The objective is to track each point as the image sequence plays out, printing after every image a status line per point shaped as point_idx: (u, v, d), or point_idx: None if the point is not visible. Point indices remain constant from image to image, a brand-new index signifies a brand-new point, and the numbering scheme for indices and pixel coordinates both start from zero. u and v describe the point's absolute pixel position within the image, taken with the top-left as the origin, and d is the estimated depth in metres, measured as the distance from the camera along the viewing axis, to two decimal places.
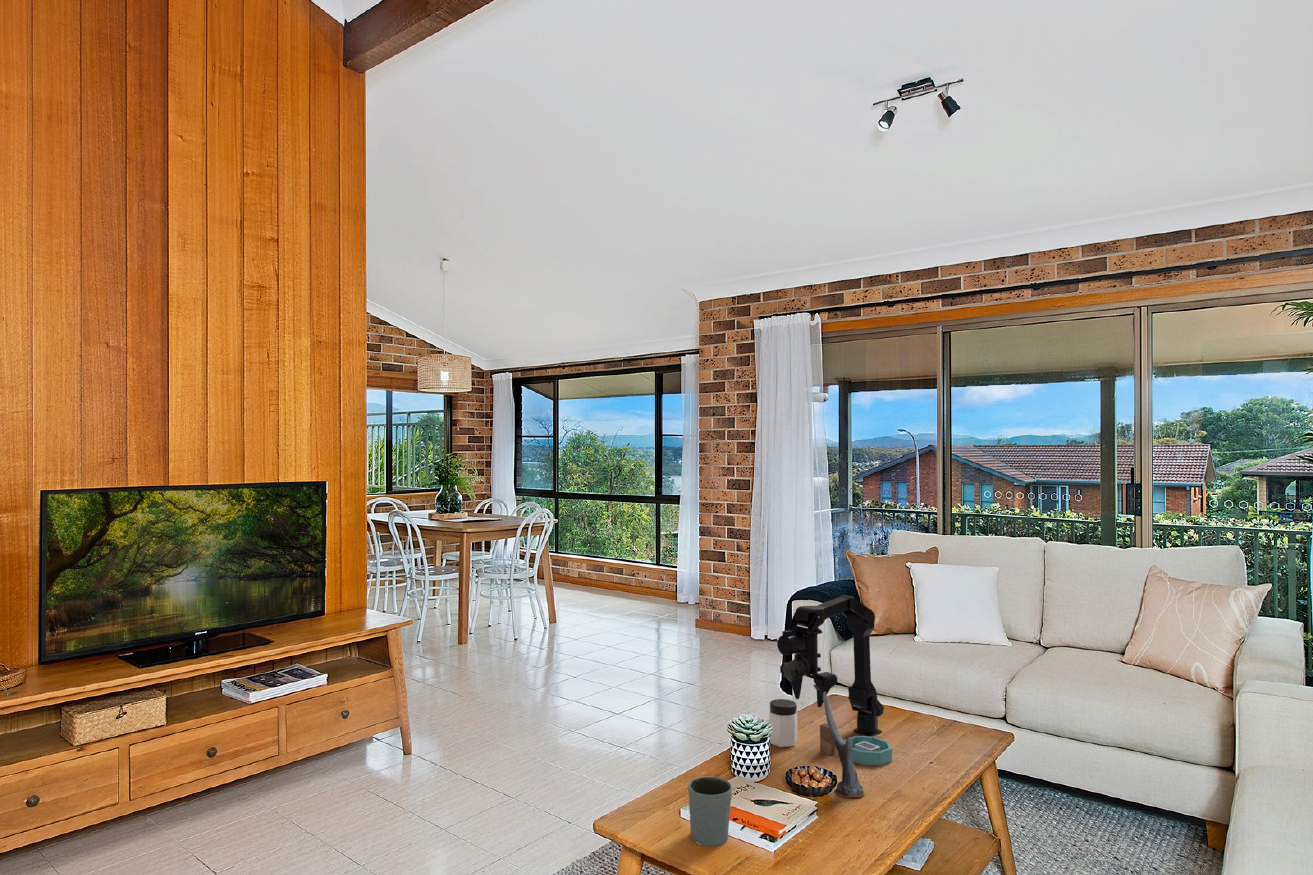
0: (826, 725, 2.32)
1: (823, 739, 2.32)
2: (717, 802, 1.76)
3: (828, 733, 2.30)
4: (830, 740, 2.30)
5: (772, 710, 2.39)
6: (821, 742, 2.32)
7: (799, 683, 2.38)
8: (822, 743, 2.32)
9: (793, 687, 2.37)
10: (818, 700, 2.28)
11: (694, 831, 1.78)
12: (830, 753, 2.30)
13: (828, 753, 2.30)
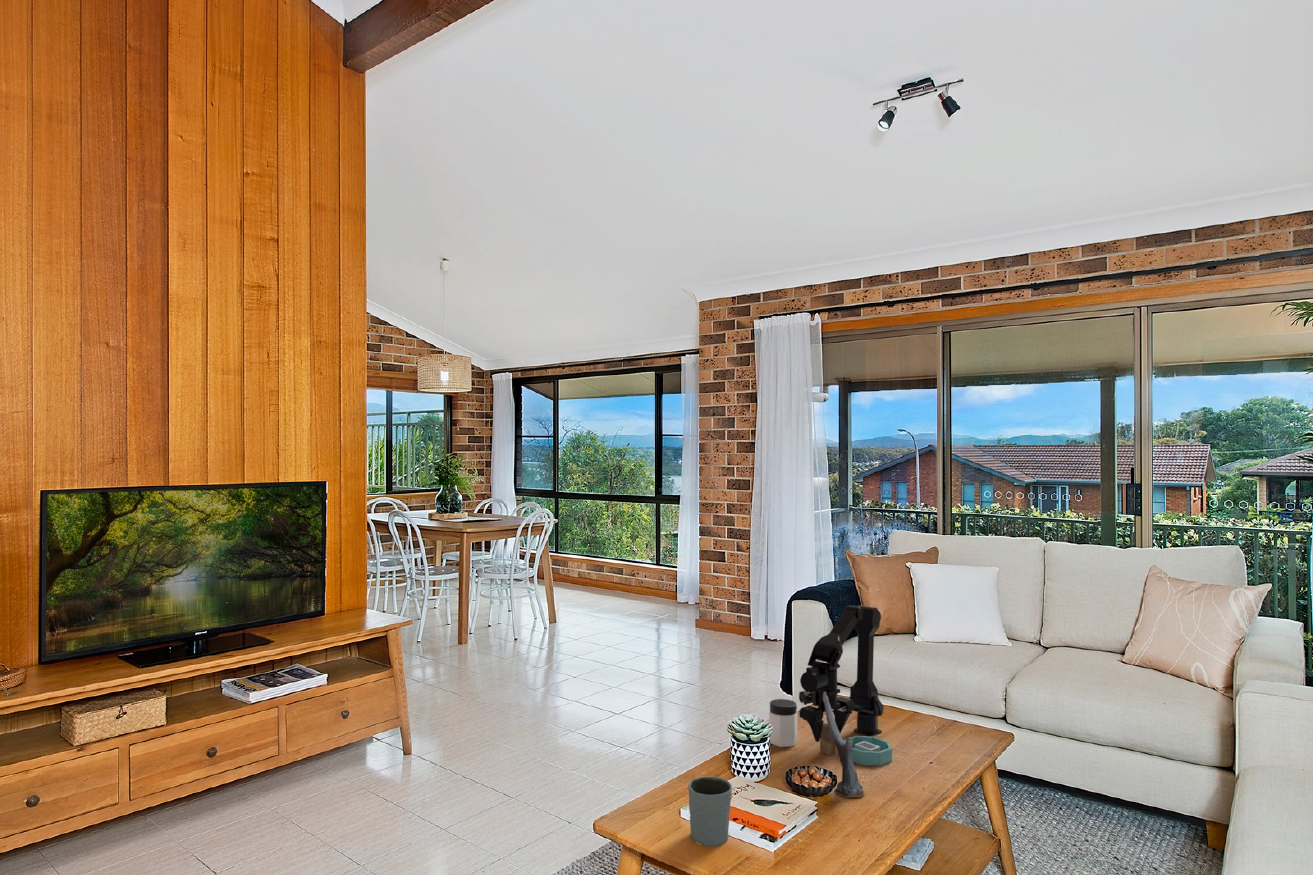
0: (826, 725, 2.32)
1: (823, 739, 2.32)
2: (717, 802, 1.76)
3: (828, 733, 2.30)
4: (830, 740, 2.30)
5: (772, 710, 2.39)
6: (821, 742, 2.32)
7: (842, 721, 2.34)
8: (822, 743, 2.32)
9: None
10: None
11: (694, 831, 1.78)
12: (830, 753, 2.30)
13: (828, 753, 2.30)
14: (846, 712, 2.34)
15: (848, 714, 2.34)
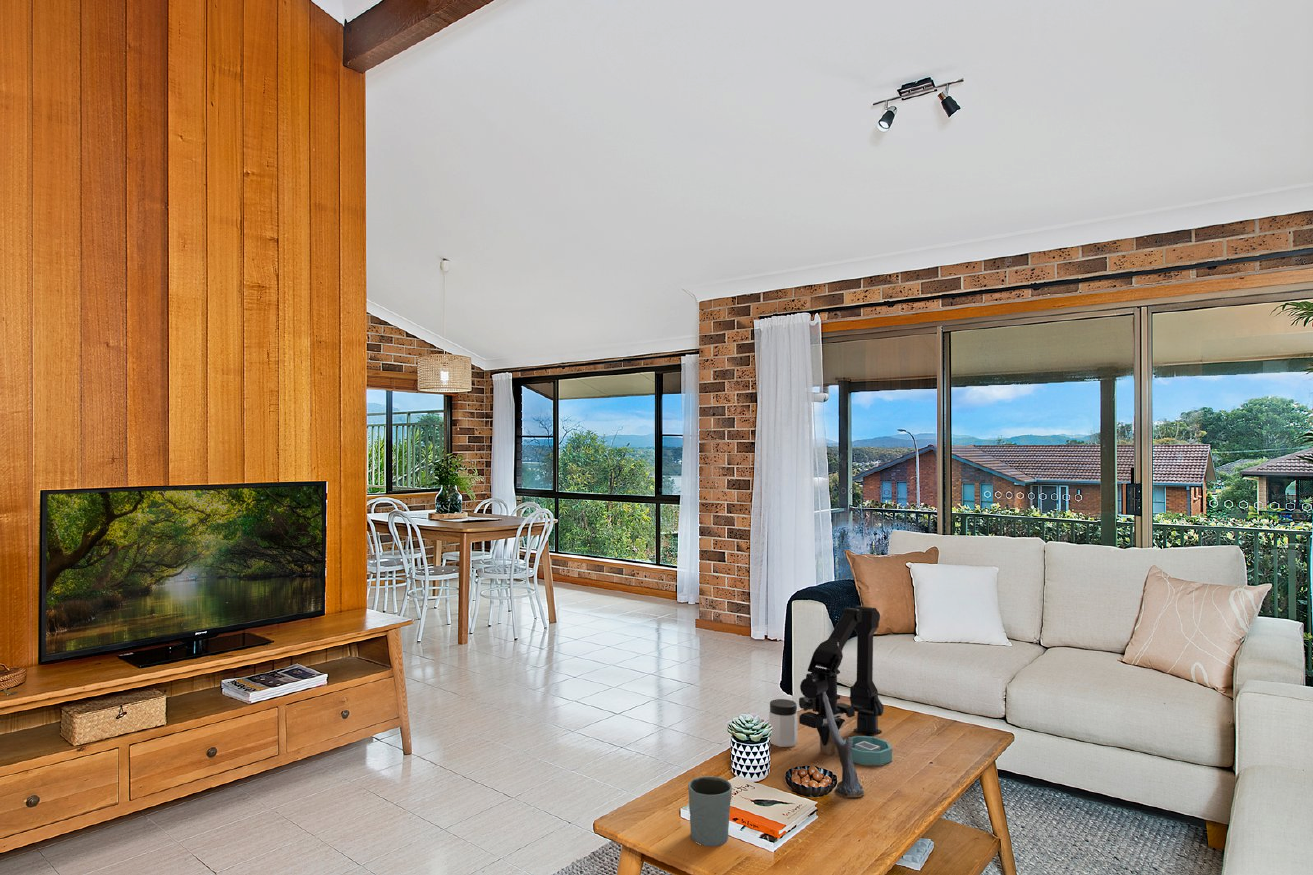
0: None
1: None
2: (717, 802, 1.76)
3: None
4: (830, 740, 2.30)
5: (772, 710, 2.39)
6: (821, 742, 2.32)
7: None
8: None
9: None
10: None
11: (694, 831, 1.78)
12: (830, 753, 2.30)
13: (828, 753, 2.30)
14: (839, 720, 2.32)
15: (841, 722, 2.32)
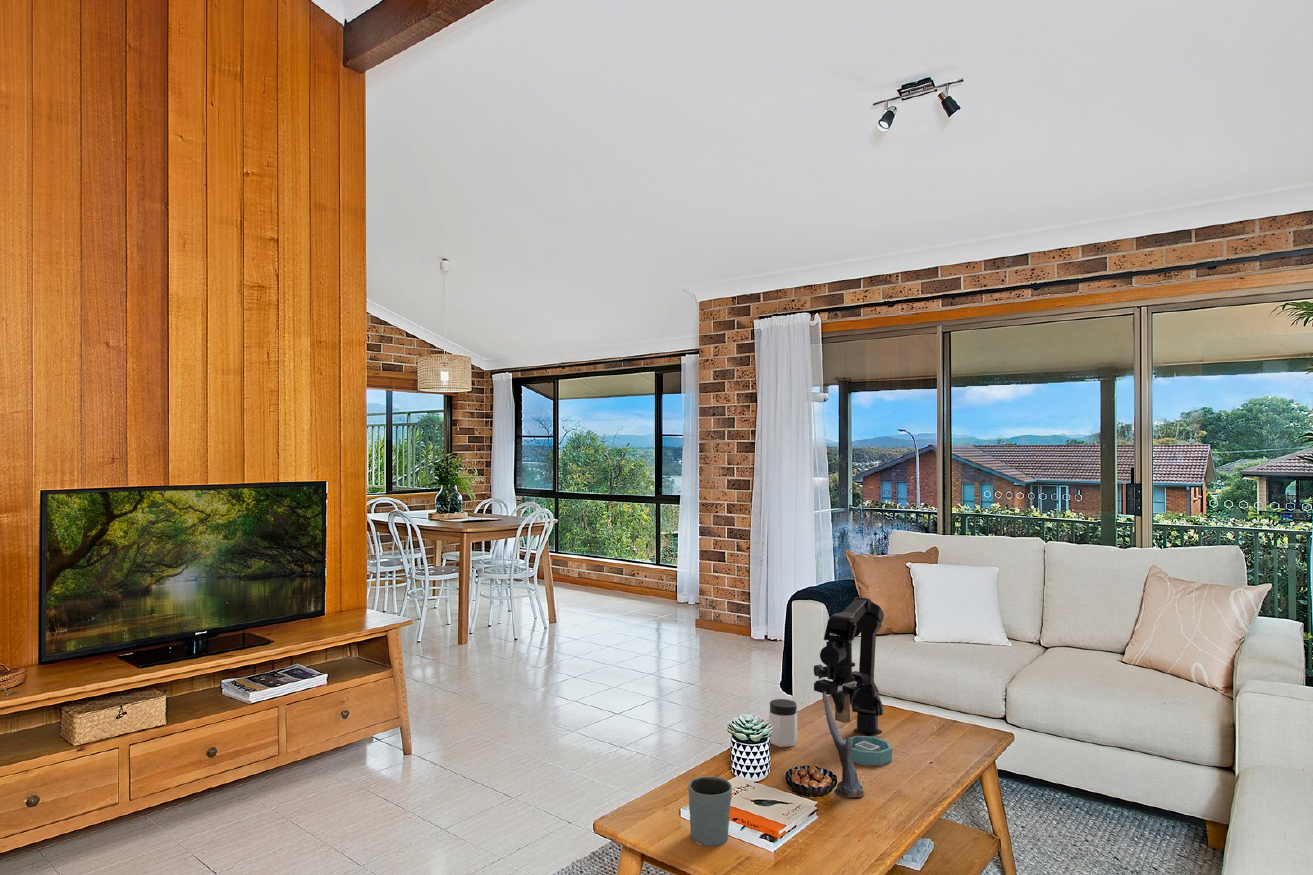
0: None
1: None
2: (717, 802, 1.76)
3: None
4: (844, 708, 2.29)
5: (772, 710, 2.39)
6: (836, 710, 2.32)
7: None
8: None
9: None
10: None
11: (694, 831, 1.78)
12: (845, 720, 2.29)
13: (843, 720, 2.29)
14: (854, 688, 2.31)
15: (856, 690, 2.31)
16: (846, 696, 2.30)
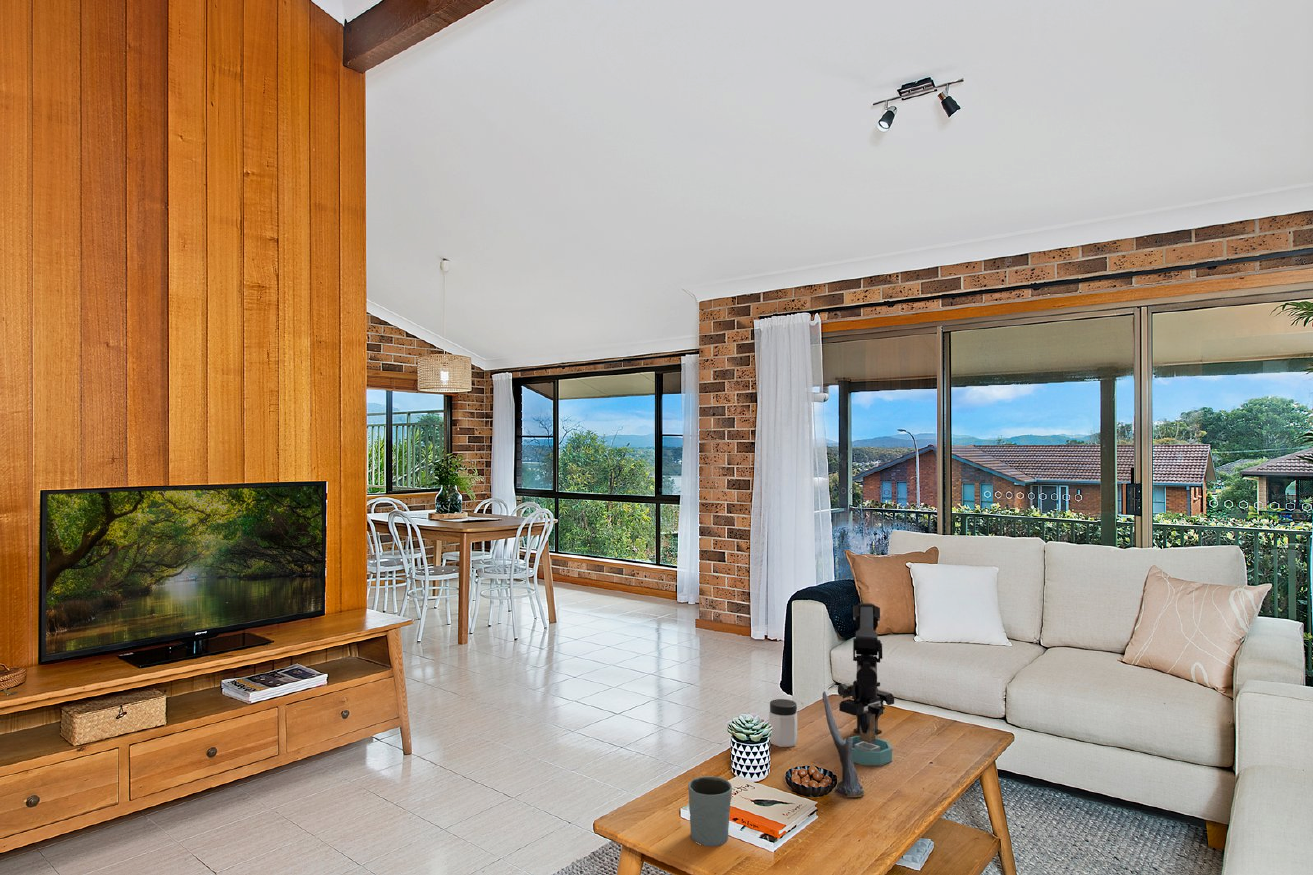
0: None
1: None
2: (717, 802, 1.76)
3: None
4: (870, 728, 2.27)
5: (772, 710, 2.39)
6: (861, 730, 2.30)
7: None
8: None
9: None
10: None
11: (694, 831, 1.78)
12: (870, 741, 2.27)
13: (868, 741, 2.27)
14: (879, 708, 2.29)
15: (881, 710, 2.29)
16: (871, 716, 2.28)
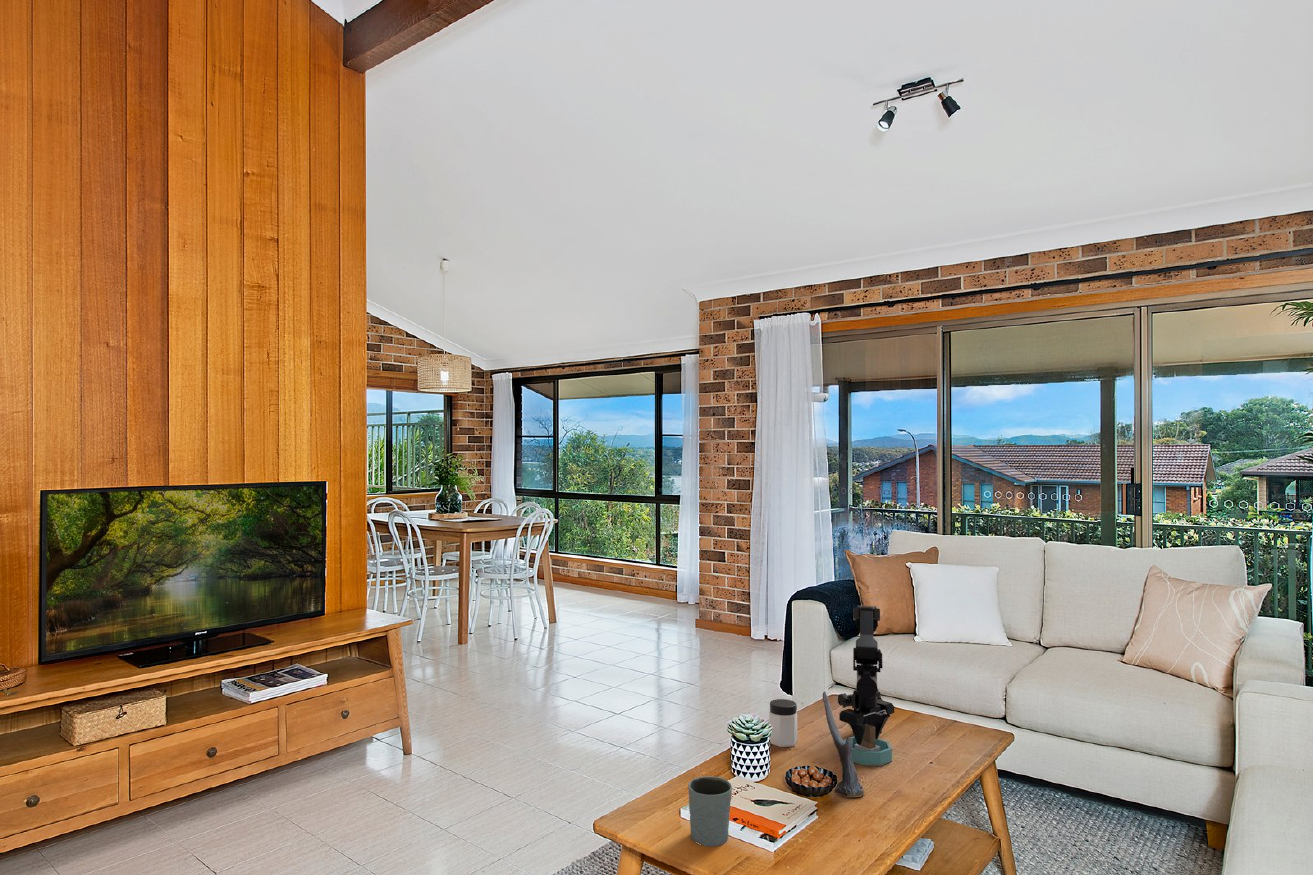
0: (866, 725, 2.30)
1: (863, 740, 2.29)
2: (717, 802, 1.76)
3: (869, 733, 2.27)
4: (870, 741, 2.27)
5: (772, 710, 2.39)
6: (861, 743, 2.29)
7: (880, 725, 2.31)
8: (862, 744, 2.29)
9: None
10: None
11: (694, 831, 1.78)
12: None
13: None
14: (884, 716, 2.31)
15: (886, 718, 2.30)
16: (872, 729, 2.28)
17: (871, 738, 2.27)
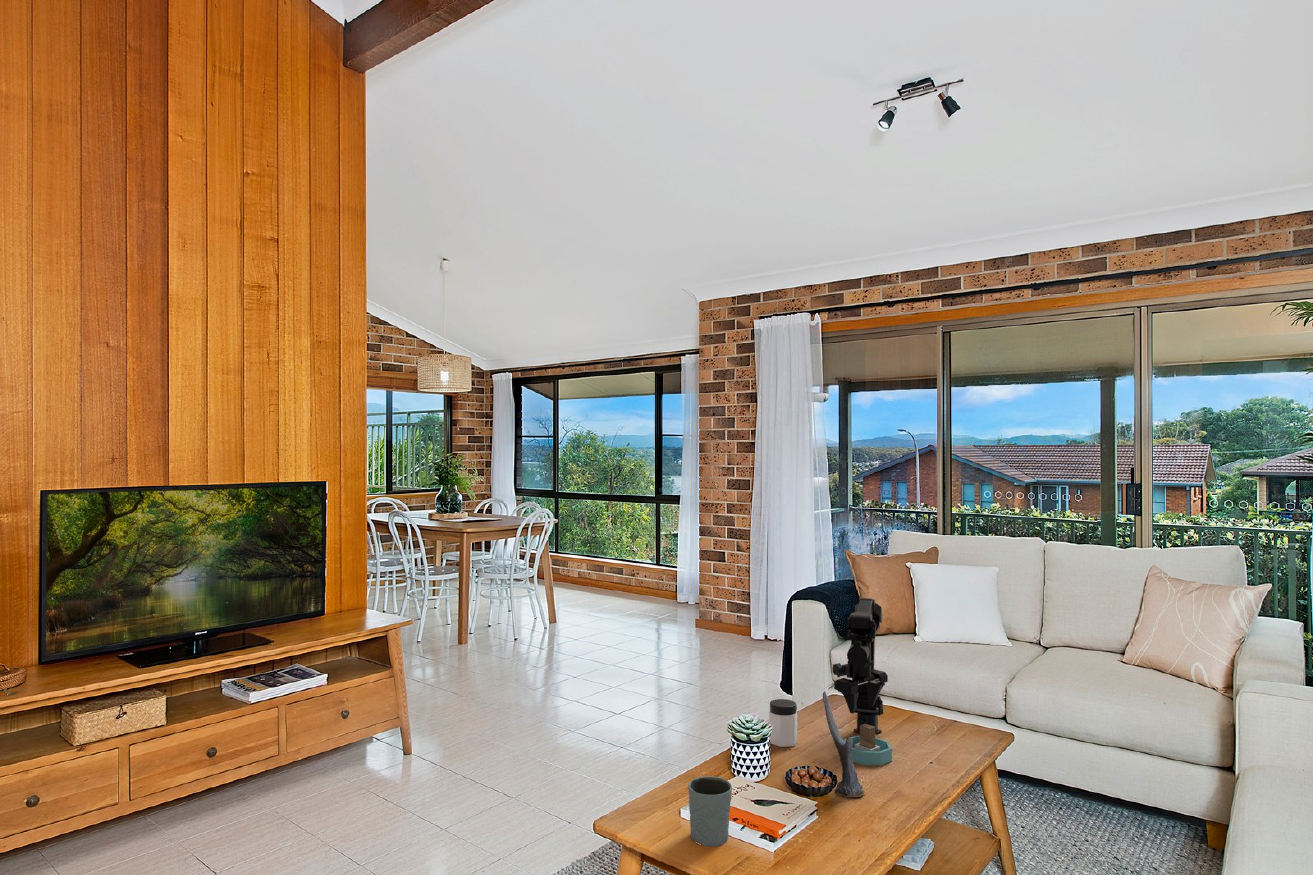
0: (866, 725, 2.29)
1: (863, 740, 2.29)
2: (717, 802, 1.76)
3: (868, 734, 2.27)
4: (870, 741, 2.27)
5: (772, 710, 2.39)
6: (861, 743, 2.29)
7: (875, 693, 2.36)
8: (862, 744, 2.29)
9: None
10: None
11: (694, 831, 1.78)
12: None
13: None
14: (879, 684, 2.36)
15: (881, 686, 2.35)
16: (872, 729, 2.28)
17: (871, 738, 2.27)
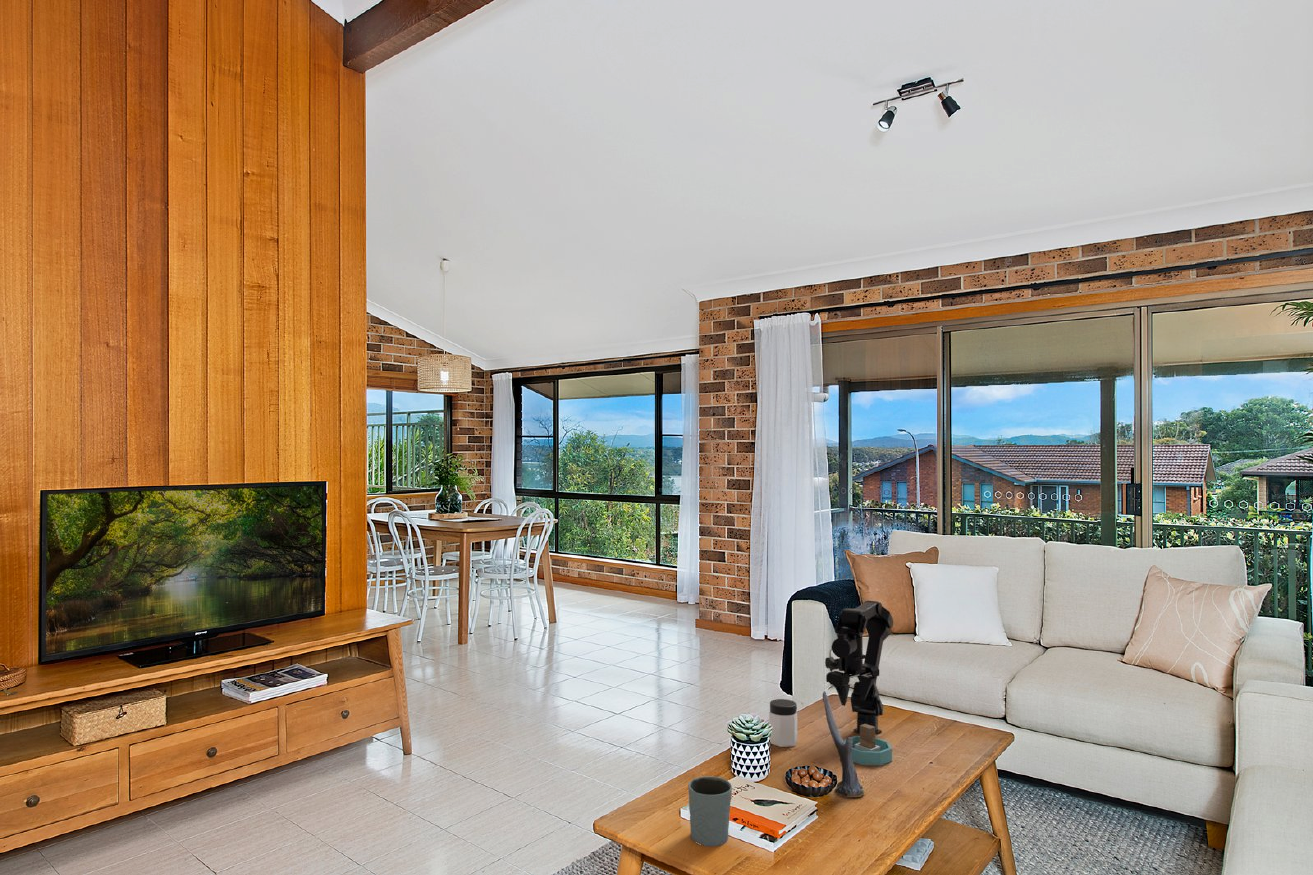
0: (866, 725, 2.29)
1: (863, 740, 2.29)
2: (717, 802, 1.76)
3: (868, 734, 2.27)
4: (870, 741, 2.27)
5: (772, 710, 2.39)
6: (861, 743, 2.29)
7: (867, 686, 2.42)
8: (862, 744, 2.29)
9: None
10: None
11: (694, 831, 1.78)
12: None
13: None
14: (871, 677, 2.42)
15: (873, 679, 2.41)
16: (872, 729, 2.28)
17: (871, 738, 2.27)
